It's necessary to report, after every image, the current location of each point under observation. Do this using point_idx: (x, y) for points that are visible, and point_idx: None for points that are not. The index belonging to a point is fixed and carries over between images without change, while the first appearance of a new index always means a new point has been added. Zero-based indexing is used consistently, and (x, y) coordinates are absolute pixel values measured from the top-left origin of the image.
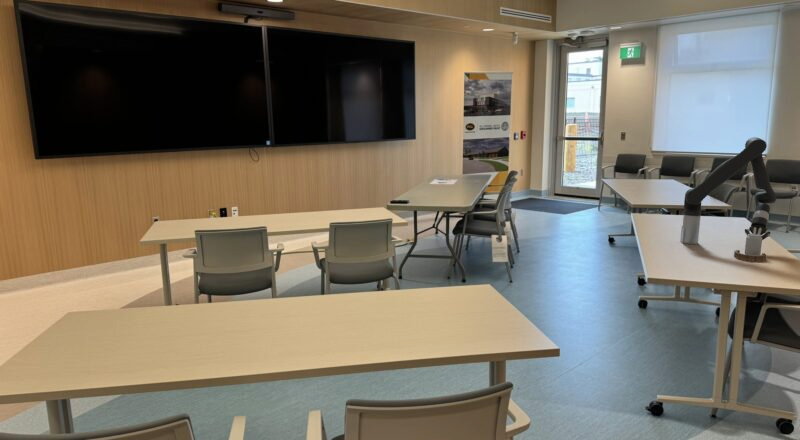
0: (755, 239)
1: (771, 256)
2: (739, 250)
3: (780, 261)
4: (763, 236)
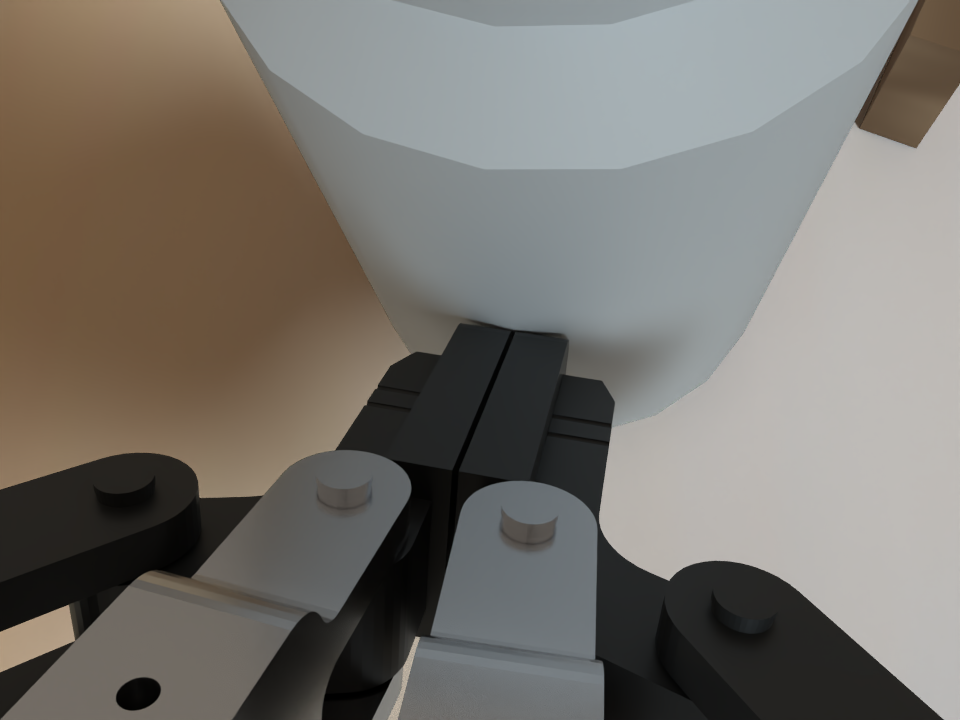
0: None
1: (124, 411)
2: (917, 15)
3: (59, 3)
4: (5, 508)
